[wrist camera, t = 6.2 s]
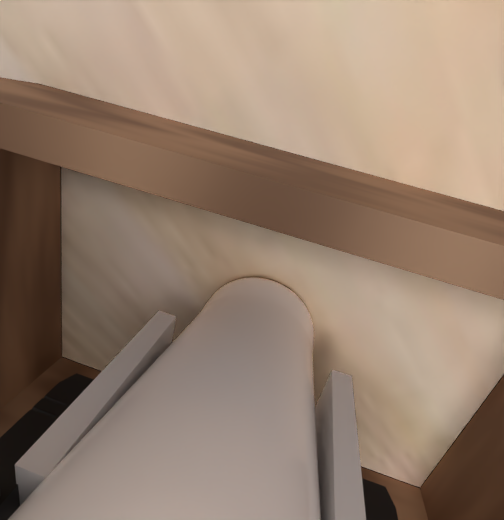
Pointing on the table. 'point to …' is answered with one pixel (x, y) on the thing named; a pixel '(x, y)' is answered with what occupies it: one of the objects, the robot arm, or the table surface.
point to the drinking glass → (205, 424)
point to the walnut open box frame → (244, 209)
